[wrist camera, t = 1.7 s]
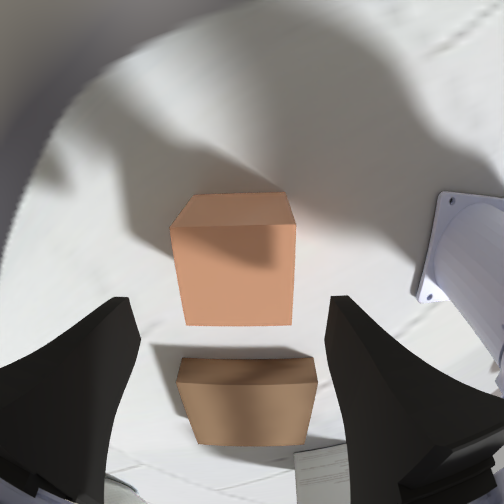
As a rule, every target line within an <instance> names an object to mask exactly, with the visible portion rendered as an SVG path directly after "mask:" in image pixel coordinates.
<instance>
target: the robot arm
mask: <svg viewBox="0 0 504 504" xmlns="http://www.w3.org/2000/svg"><path fill="white" fill-rule="evenodd" d="M451 198H452V202H451V203H449V200H450V199H451ZM428 295H429V296H428ZM427 296H428V297H427ZM416 299H417V300H418V302H419V303H430V302H439V301H448V300H451V302H452V303H453V304H454V305H455V307H456V308H457V309H458V311H459V312H460V313H461V314H462V316H463V317H464V318H465V320H466V321H467V322H468V324H469V325H470V326H471V328H472V329H473V330H474V332H475V333H476V334H477V336H478V337H479V338H480V340H481V341H482V343H483V344H484V345H485V347H486V348H487V350H488V351H489V353H490V354H491V356H492V357H493V359H494V360H495V362H496V363H497V364H498V366H499V367H500V372H499V375H498V376H497V378H496V380H495V382H496V384H497V386H498V387H499V389H500V391H501V393H502V395H501V397H497V396H494V395H491V394H488V393H485V392H482V391H480V390H477V389H475V388H473V387H470V386H468V385H466V384H464V383H462V382H459V381H457V380H455V379H453V378H451V377H450V376H448V375H446V374H444V373H443V372H441V371H439V370H437V369H436V368H434V367H432V366H431V365H429V364H428V363H426V362H425V361H423V360H422V359H420V358H419V357H417V356H416V355H414V354H413V353H412V352H410V351H409V350H408V349H406V348H405V347H404V346H403V345H401V344H400V343H399V342H398V341H396V340H395V339H394V338H393V337H392V336H390V335H389V334H388V333H387V332H386V331H385V330H384V329H383V328H381V327H380V326H379V325H378V324H377V323H376V322H375V321H374V320H373V319H372V318H371V317H370V316H369V315H368V314H367V313H366V312H364V311H363V310H362V309H361V308H360V307H359V306H358V305H357V304H356V303H355V302H354V301H353V300H352V299H351V298H350V297H349V296H348V295H346V296H331V299H330V306H329V313H328V320H327V326H326V333H325V339H324V341H325V348H326V355H327V361H328V366H329V370H330V374H331V377H332V381H333V384H334V388H335V392H336V395H337V399H338V402H339V406H340V410H341V413H342V418H343V423H344V428H345V436H346V444H347V453H348V463H349V476H350V504H504V468H502V469H500V470H499V471H497V472H496V473H495V474H493V473H492V470H491V467H493V466H494V465H495V461H494V458H493V456H492V455H493V454H495V453H496V452H497V451H498V450H499V449H500V448H501V447H502V446H503V445H504V198H499V197H491V196H483V195H475V194H466V193H457V192H446V191H444V192H441V193H440V194H439V196H438V199H437V206H436V212H435V218H434V223H433V229H432V234H431V239H430V243H429V248H428V253H427V257H426V261H425V265H424V269H423V273H422V277H421V281H420V285H419V288H418V292H417V295H416ZM140 342H141V337H140V334H139V331H138V328H137V325H136V322H135V318H134V315H133V312H132V309H131V305H130V302H129V298H128V297H113V298H111V299H110V300H108V301H107V302H105V303H104V304H102V305H101V306H99V307H98V308H97V309H95V310H94V311H93V312H91V313H90V314H89V315H87V316H86V317H85V318H83V319H82V320H81V321H79V322H78V323H77V324H75V325H74V326H73V327H71V328H70V329H68V330H67V331H65V332H64V333H63V334H61V335H60V336H58V337H57V338H56V339H54V340H53V341H51V342H50V343H48V344H46V345H45V346H43V347H42V348H40V349H38V350H36V351H35V352H33V353H31V354H29V355H27V356H25V357H23V358H21V359H19V360H17V361H15V362H13V363H11V364H9V365H7V366H4V367H2V368H0V504H74V503H78V504H104V483H105V470H106V460H107V453H108V447H109V441H110V436H111V431H112V427H113V422H114V418H115V415H116V412H117V408H118V406H119V403H120V400H121V398H122V395H123V393H124V390H125V388H126V385H127V383H128V380H129V377H130V375H131V372H132V370H133V367H134V365H135V362H136V358H137V354H138V350H139V346H140ZM65 499H66V500H65ZM67 500H69V501H71V502H74V503H71V502H69V501H67Z"/></svg>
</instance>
